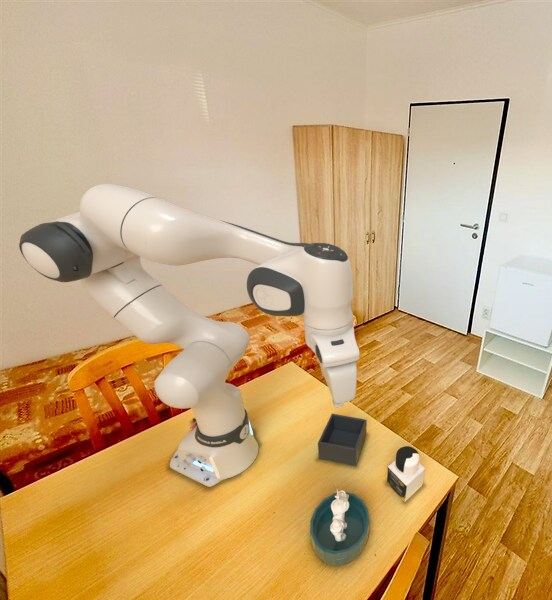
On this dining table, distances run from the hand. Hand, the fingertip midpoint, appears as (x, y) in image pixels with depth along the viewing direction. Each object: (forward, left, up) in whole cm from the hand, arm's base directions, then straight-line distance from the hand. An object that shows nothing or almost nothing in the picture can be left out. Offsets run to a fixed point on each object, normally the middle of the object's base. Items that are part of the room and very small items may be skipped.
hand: (331, 389), depth 65 cm
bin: (-3, +16, -37) cm, 41 cm away
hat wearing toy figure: (+4, -7, -37) cm, 38 cm away
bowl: (+4, -7, -37) cm, 38 cm away
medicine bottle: (+17, +8, -37) cm, 42 cm away
